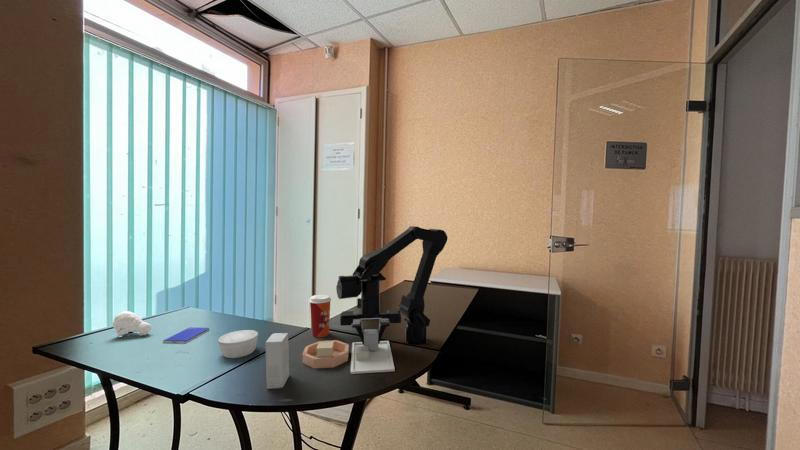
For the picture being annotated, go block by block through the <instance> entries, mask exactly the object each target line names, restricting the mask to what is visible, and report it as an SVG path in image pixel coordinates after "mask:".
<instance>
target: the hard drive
mask: <svg viewBox="0 0 800 450" xmlns="http://www.w3.org/2000/svg"><path fill="white" fill-rule="evenodd" d="M208 331H210V328H209V327H191V326H190V327H187V328H186V329H184V330H181V331H180V332H178V333H175V334H173V335H171V336H170V337H167V338H165V339H164V340H163V341H162V343H163V344H188V343H189V342H191V341H192V340H194V339H197V338H198V337H200V336H202V335H203V334H205V333H207V332H208Z"/></svg>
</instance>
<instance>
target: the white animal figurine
mask: <svg viewBox="0 0 800 450" xmlns="http://www.w3.org/2000/svg"><path fill="white" fill-rule="evenodd" d="M111 325H112V328H113V329H114V330H115V333H116V335H117V337H118V336H122V337H123V336H124V334H128V333H127V332H133V333H135V332H136V333H138V335H139V336H140V337H141V336H147V335H148V334H149V333H150V332H151V330H152V324H150V323H148V322H145V321H143V319H142V318H141V317H140V316H139V315H137V314H136V313H134V312H132V311H129V310H126V311H120V313H118V314H116V315H115V317H114V319H113V321H112V323H111ZM146 334H147V335H146Z"/></svg>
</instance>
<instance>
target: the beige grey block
mask: <svg viewBox="0 0 800 450" xmlns="http://www.w3.org/2000/svg"><path fill="white" fill-rule="evenodd" d="M361 360H369V357H368V346H356V361H361Z"/></svg>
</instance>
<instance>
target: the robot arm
mask: <svg viewBox="0 0 800 450" xmlns="http://www.w3.org/2000/svg"><path fill="white" fill-rule="evenodd" d="M416 240H420V241H422V254H421V257H420V261H419V264H418V266H417V271H416V273H415V277H414V280H413V282H412V286H411V288H410V292H408V293H407V295H404V294H402V295H401V299H400V300H401V301H400V303H399V304H398V307H399V309H398V308H397V309H387V310H386V312H382V313H381V309H380V308H381V303H380V302H381V299H380V297H381V296H380V294H381V292H380V291H381V290H380V287H381V286H380V281H381V282H382V281H386V280H387V278H386V277H385V276H384V275H383V274H382V273H381V271H382V270H383V269H384V268H385V267H386V266H387V265H388V263H389V261H390V260H391V259H392V258H394V257H395V256H396V255H397V254H399V253H401V251H403V250H404V249H405V248H406V247H407V248H408V246H409V245H410V244H412V243H414V242H415V241H416ZM446 243H448V235H447V233H446V231H445V230H443V229H438V228H437V229H436V228H429V229H427V228H423V227H420V226H414V225H413V226H412V225H411V226H409V227H408V228H406V230H404V231H403V232H402V233H400V234H399V235H398V236H396V237H395V238H393V239H391V240H390V241H389V242H387V244H385V245H383V246H382V247H380V248H379V249H376V250H373V251H369V252H368V253H367V254H364V255H362V256H361V257H360V258H359V262H358V265H357V266H356V268H355V269H354V271H353V273H352V275H339V276H338V280H337V284H336V288H335V289H336V295H337V298H338V300H343V299H352V298H357V299H356V303H357V305H356V307H357V309H361V310H360V311H361V313H358V314H354V310H347V311H345V310H344V311H342V312H341V313H340V320H339V324H340V326H351V327H352V329H354V328H355V330H356V332H357V334H358V335H359V337H360V342H362V344H363V345H364V329H363V321H378V320H379V321H378V323H379V324H378V344H379V343H380V341H382V337H383V335H384V332H385V330H386V328H387V327H390V326H391V325H390V324H401V323H402V318H403V319H404V321H405V322H406V326H405V328H404V333H405V334H404V339H405V341H406V342H407V345H409V346H413V345H428V340H427V327H429V326H430V322H431V319H430V318H428V316H427V315H426V314H425V313H424V312H425V309H426V307H425V294H426V290H427V288H428V284H429V281H430V279H431V275H432V272H433V269H434V266H435V262H436V259H437V257H438V256H439V254H440V253H441V252H442V251H443V250H444V248H445V246H446ZM359 296H360V297H361V298H359Z"/></svg>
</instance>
